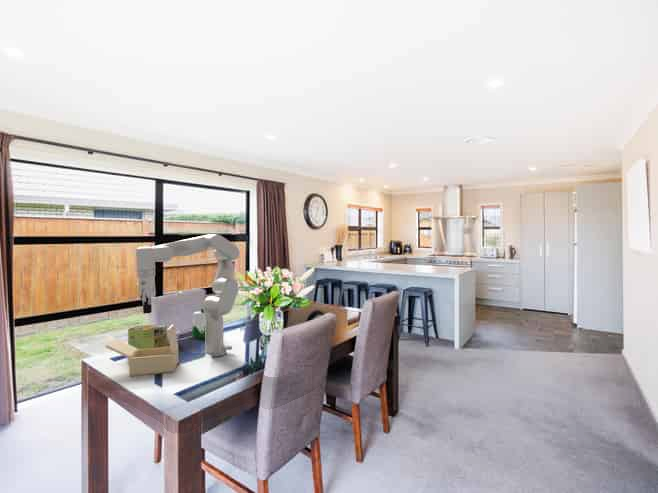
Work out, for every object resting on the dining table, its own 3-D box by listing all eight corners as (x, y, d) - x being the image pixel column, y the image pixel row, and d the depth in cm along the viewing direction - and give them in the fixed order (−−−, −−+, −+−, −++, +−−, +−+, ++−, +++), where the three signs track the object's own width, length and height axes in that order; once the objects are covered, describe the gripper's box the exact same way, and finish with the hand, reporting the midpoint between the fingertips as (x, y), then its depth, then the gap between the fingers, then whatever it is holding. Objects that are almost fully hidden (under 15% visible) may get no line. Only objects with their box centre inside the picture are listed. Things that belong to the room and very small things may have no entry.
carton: (178, 362, 171) (178, 346, 171) (173, 372, 157) (173, 354, 157) (138, 366, 166) (137, 349, 166) (129, 376, 153) (129, 358, 153)
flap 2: (178, 345, 170) (173, 324, 170) (174, 353, 158) (169, 329, 158) (176, 346, 170) (171, 324, 169) (171, 353, 158) (166, 330, 158)
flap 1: (137, 348, 165) (115, 338, 163) (130, 356, 154) (106, 344, 151) (136, 350, 165) (114, 339, 163) (129, 358, 154) (105, 347, 151)
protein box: (154, 360, 174) (153, 329, 174) (127, 359, 177) (127, 328, 177) (167, 354, 185) (167, 325, 185) (142, 352, 188) (142, 324, 188)
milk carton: (205, 342, 216) (206, 310, 217) (190, 342, 216) (191, 310, 216) (209, 338, 225) (209, 308, 226) (195, 339, 224) (195, 308, 225)
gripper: (150, 274, 155) (152, 315, 155) (158, 271, 169) (160, 309, 169) (132, 275, 153) (133, 316, 153) (141, 272, 167) (143, 310, 168)
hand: (147, 312), depth 161 cm, fingers closed
